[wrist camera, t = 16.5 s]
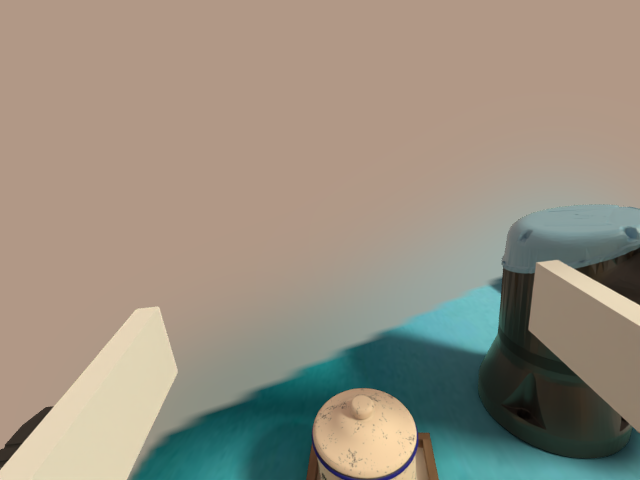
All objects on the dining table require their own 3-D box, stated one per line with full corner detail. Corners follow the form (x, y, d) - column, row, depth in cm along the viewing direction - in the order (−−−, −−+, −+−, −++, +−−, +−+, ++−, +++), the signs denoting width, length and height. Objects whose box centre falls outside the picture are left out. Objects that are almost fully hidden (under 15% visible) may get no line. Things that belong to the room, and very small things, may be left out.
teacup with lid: (309, 472, 36) (295, 382, 32) (388, 442, 38) (384, 354, 34) (356, 621, 25) (344, 513, 21) (462, 566, 28) (469, 459, 24)
